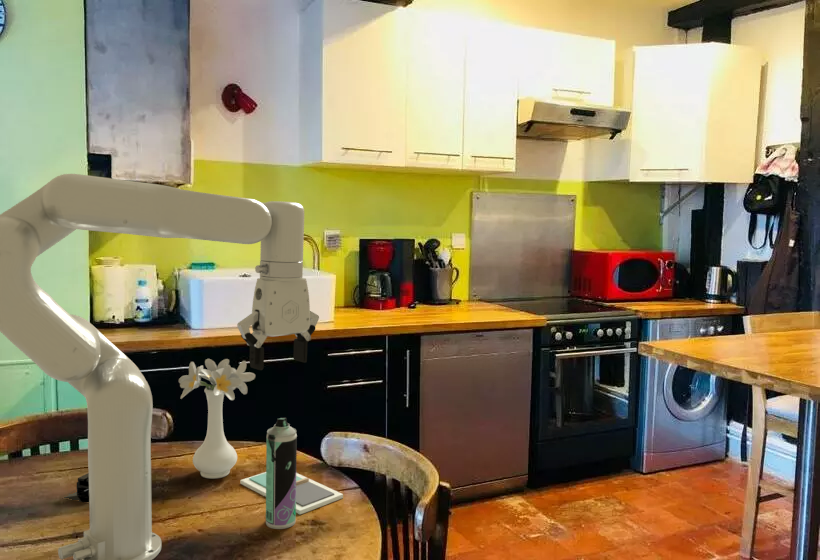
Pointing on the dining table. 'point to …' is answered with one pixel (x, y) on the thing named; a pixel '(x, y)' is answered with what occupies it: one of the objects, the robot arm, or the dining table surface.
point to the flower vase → (216, 413)
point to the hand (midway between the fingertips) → (279, 364)
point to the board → (298, 492)
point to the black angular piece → (81, 489)
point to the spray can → (281, 475)
